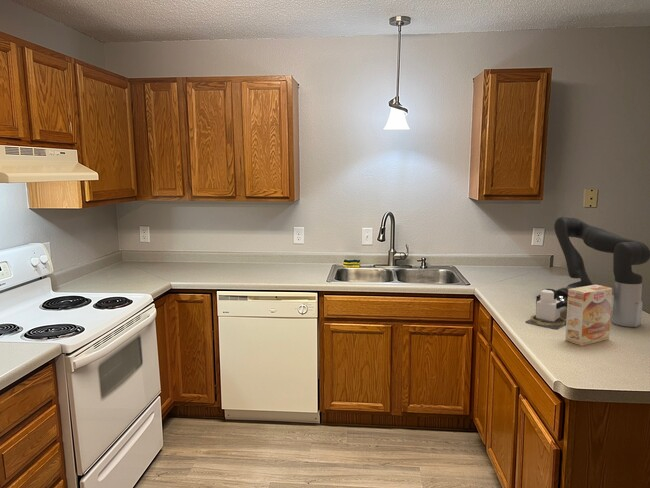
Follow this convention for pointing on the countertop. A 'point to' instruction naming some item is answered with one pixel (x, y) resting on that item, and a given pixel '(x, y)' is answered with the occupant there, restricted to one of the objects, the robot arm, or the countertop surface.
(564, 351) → the countertop surface
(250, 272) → the countertop surface
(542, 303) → the medicine bottle
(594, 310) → the coffeecake box
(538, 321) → the ring seat
